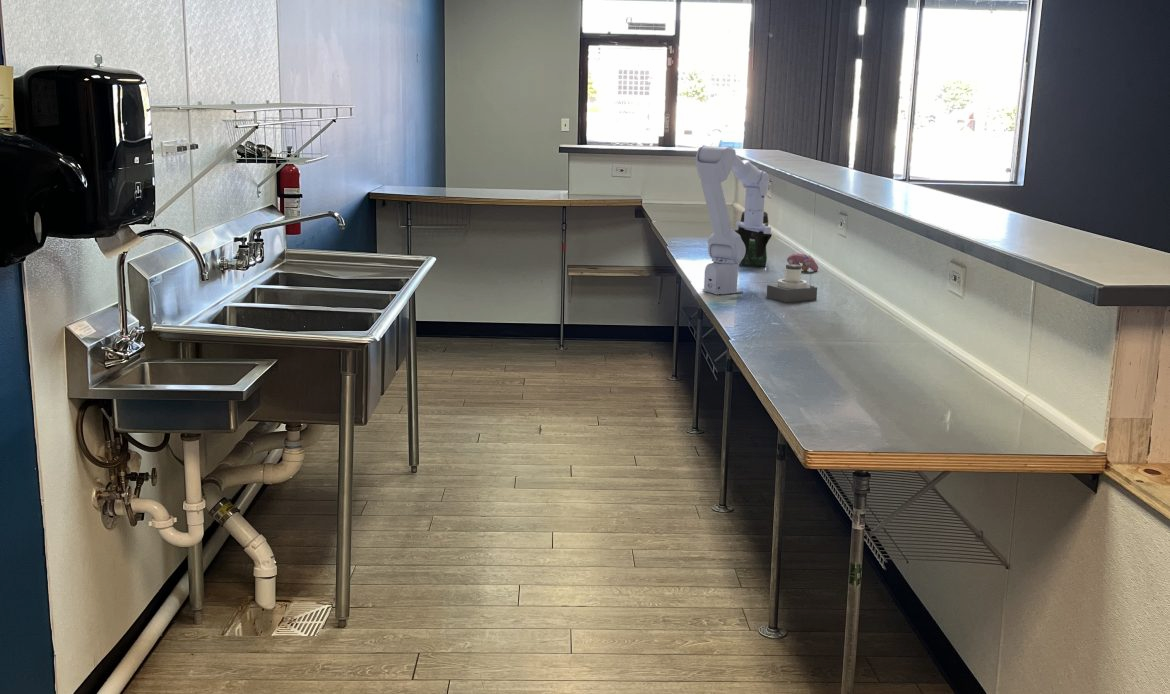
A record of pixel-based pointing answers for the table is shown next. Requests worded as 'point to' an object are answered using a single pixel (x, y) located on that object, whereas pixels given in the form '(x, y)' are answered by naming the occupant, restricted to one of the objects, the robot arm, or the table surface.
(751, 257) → the coffee jar
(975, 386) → the table surface
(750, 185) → the robot arm
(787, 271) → the white lens
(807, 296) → the grey square base
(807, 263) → the pink animal figurine
